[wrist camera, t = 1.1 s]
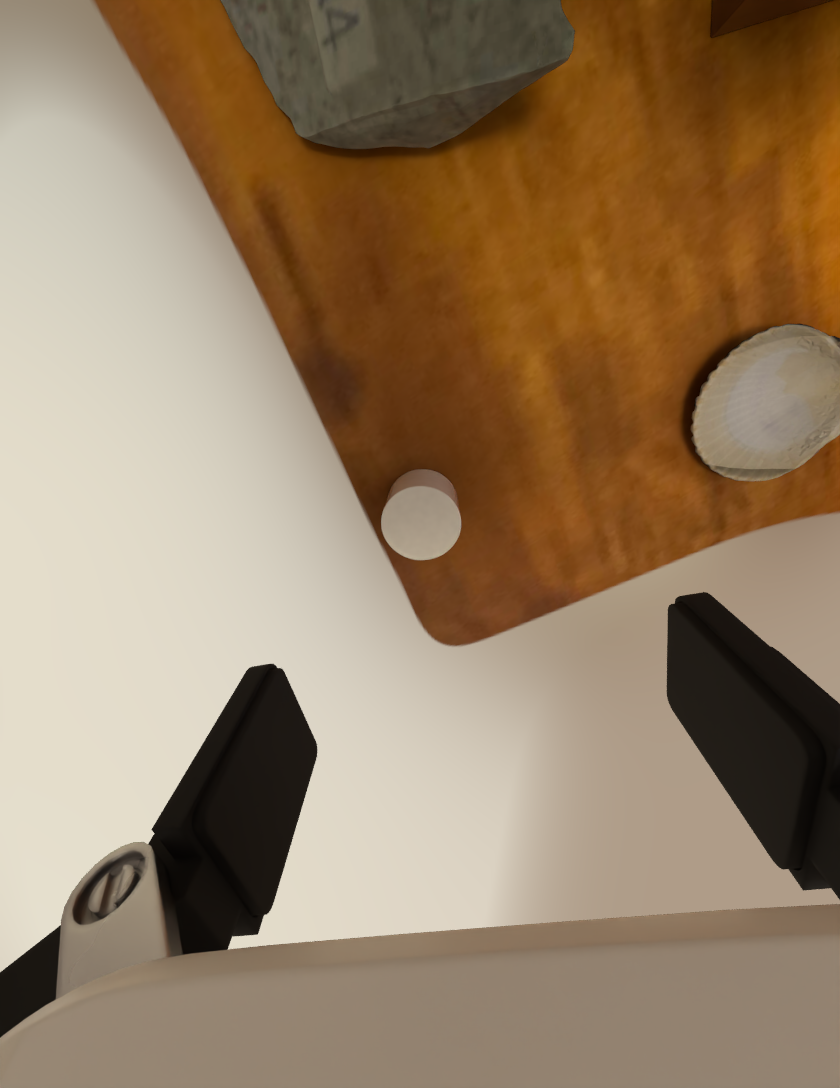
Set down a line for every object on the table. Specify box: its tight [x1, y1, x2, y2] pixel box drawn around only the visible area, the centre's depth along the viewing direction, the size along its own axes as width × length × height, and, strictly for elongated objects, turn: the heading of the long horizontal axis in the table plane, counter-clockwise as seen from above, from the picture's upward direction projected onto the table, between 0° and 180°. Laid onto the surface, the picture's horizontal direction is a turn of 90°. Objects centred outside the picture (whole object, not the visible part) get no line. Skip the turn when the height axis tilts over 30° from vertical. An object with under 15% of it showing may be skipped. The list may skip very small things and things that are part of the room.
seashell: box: [691, 324, 840, 481], centre depth 23 cm, size 8×3×8 cm
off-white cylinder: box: [381, 469, 461, 560], centre depth 26 cm, size 5×5×4 cm
